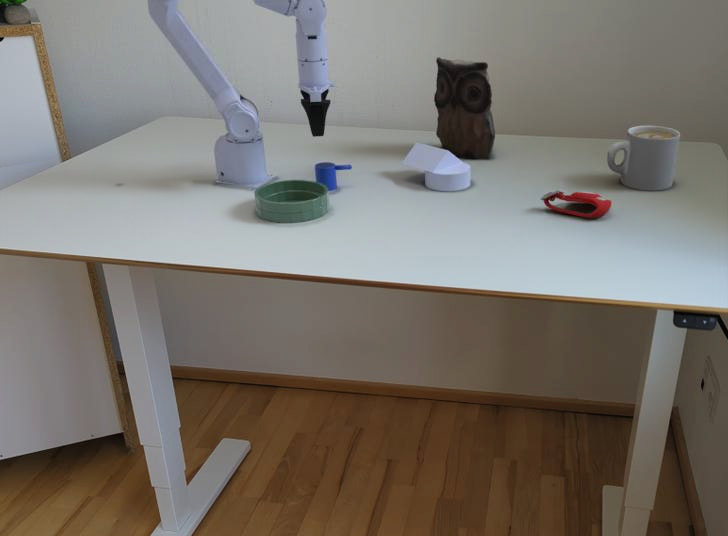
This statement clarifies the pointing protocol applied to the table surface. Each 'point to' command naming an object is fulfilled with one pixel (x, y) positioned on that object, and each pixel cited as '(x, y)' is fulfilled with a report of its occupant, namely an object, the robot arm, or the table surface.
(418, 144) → the wedge on round base
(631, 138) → the coffee mug
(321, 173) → the scoop
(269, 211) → the green plant saucer
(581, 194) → the tracker holder
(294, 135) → the table surface
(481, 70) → the owl
